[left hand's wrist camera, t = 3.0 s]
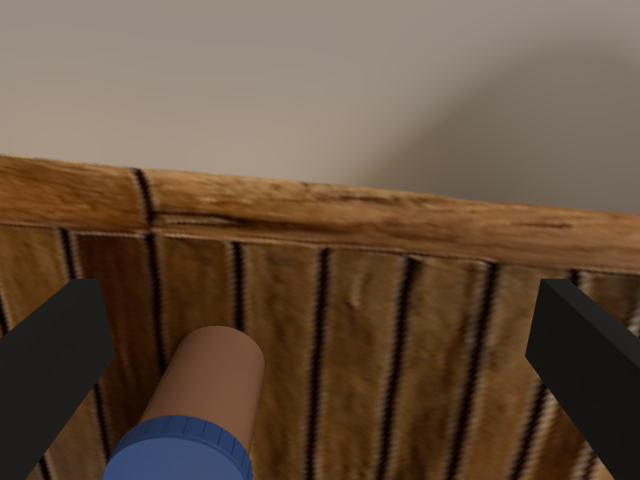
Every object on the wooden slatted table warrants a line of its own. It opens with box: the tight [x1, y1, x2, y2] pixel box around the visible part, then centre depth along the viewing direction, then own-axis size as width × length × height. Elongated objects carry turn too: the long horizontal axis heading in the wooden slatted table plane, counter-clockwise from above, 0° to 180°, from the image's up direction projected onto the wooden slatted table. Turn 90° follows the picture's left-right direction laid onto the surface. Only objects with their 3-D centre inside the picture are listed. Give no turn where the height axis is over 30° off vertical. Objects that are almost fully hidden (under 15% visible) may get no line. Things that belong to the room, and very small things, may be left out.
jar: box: [137, 326, 265, 455], centre depth 40 cm, size 10×10×15 cm
